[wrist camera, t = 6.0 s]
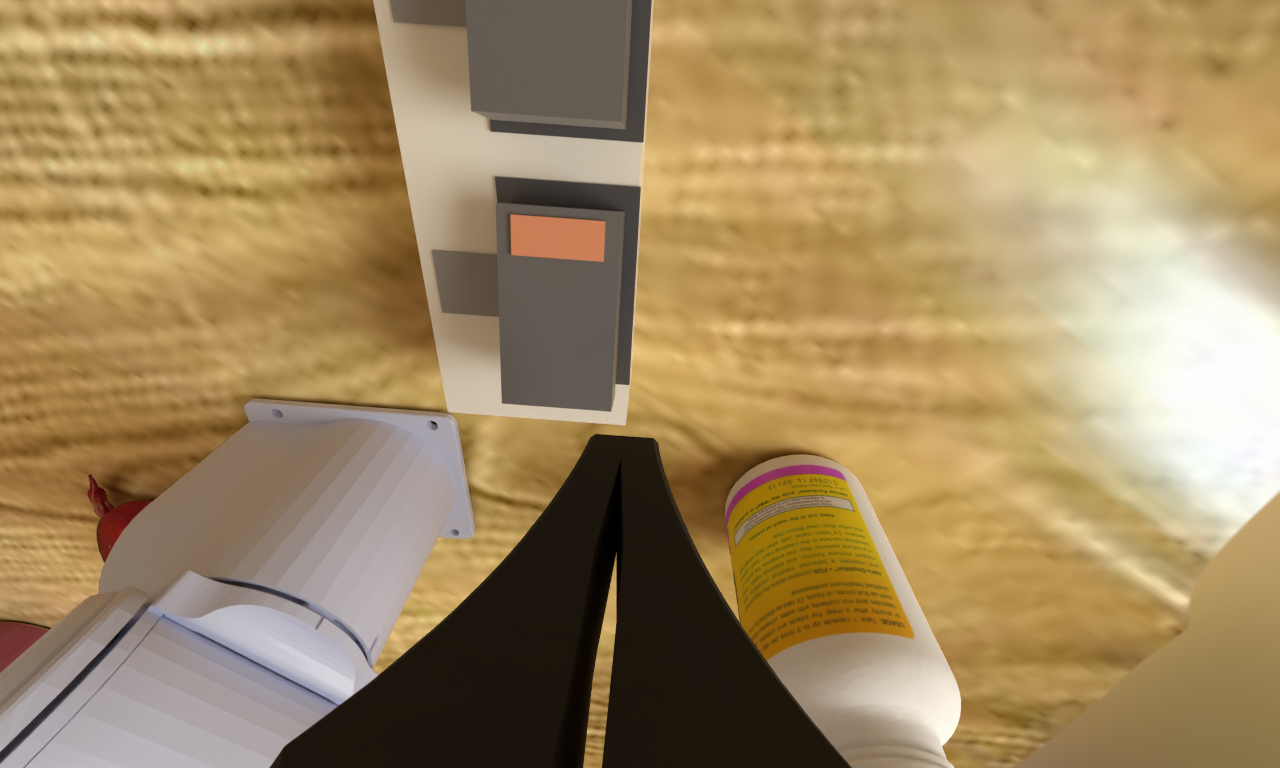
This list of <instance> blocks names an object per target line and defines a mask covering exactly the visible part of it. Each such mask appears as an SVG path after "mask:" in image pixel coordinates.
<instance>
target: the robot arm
mask: <svg viewBox="0 0 1280 768" xmlns="http://www.w3.org/2000/svg"><path fill="white" fill-rule="evenodd" d="M278 410H279V411H278ZM244 411H245V413H246V415H247V418H248V420H249V422H248V423H247V424H246V425H245V426H243V427H242V428H241V429H240V430H239V431H237V432H236V433H235V434H234V435H232V436H231V437H230V438H229V439H228V440H226V441H225V442H224V443H223V444H222V445H220V446H219V447H218V448H217V449H215V450H214V451H213V452H212V453H211V454H209V455H208V456H207V457H206V458H205V459H203V460H202V461H201V462H200V463H198V464H197V465H196V466H195V467H194V468H192V469H191V470H190V471H189V472H188V473H186V474H185V475H184V476H183V477H181V478H180V479H179V480H178V481H177V482H175V483H174V484H173V485H172V486H171V487H169V488H168V489H167V490H166V491H164V492H163V493H162V494H161V495H160V496H158V497H157V498H156V499H155V500H154V501H152V502H151V503H150V504H149V505H147V506H146V507H145V508H144V509H143V510H142V511H141V512H140V513H139V514H138V515H137V516H136V517H135V518H133V520H132V521H131V522H130V523H129V524H128V526H127V527H126V528H125V529H124V530H123V532H122V533H121V535H120V536H119V538H118V539H117V541H116V542H115V544H114V546H113V548H112V550H111V551H110V553H109V555H108V558H107V560H106V562H105V564H104V567H103V570H102V573H101V577H100V582H99V594H97V595H92V596H90V597H88V598H87V599H85V600H84V601H83V602H82V603H80V604H79V605H78V606H77V607H76V608H74V609H73V610H72V611H71V612H70V613H69V614H67V615H66V616H65V617H64V618H63V619H62V620H60V621H59V622H58V623H57V624H56V625H55V626H53V627H52V628H51V629H50V630H49V631H48V632H46V633H45V634H44V635H43V636H42V637H41V638H40V639H38V640H37V641H36V642H35V643H34V644H33V645H31V646H30V647H29V648H28V649H27V650H26V651H25V652H23V653H22V654H21V655H20V656H19V657H18V658H17V659H15V660H14V661H13V662H12V663H11V664H10V665H9V666H8V667H6V668H5V669H4V670H3V671H2V672H1V673H0V768H583V763H584V753H585V744H586V735H587V726H588V716H589V707H590V698H591V689H592V680H593V673H594V667H595V661H596V654H597V649H598V644H599V639H600V634H601V629H602V624H603V618H604V613H605V608H606V603H607V598H608V593H609V588H610V583H611V577H612V572H613V567H614V562H615V557H616V551H617V623H616V634H615V644H614V654H613V664H612V674H611V684H610V694H609V704H608V714H607V724H606V734H605V744H604V753H603V763H602V768H852V767H851V766H850V765H849V764H848V762H847V761H846V760H845V759H844V758H843V757H842V755H841V754H840V753H839V752H838V751H837V750H836V749H835V747H834V746H833V745H832V744H831V743H830V741H829V740H828V739H827V738H826V737H825V735H824V734H823V733H822V732H821V731H820V729H819V728H818V727H817V726H816V725H815V723H814V722H813V721H812V720H811V719H810V717H809V716H808V715H807V713H806V712H805V711H804V710H803V708H802V707H801V706H800V705H799V703H798V702H797V701H796V699H795V698H794V697H793V696H792V694H791V693H790V692H789V691H788V689H787V688H786V687H785V685H784V684H783V683H782V682H781V680H780V679H779V678H778V676H777V675H776V673H775V672H774V671H773V669H772V668H771V666H770V665H769V664H768V662H767V661H766V659H765V658H764V657H763V655H762V654H761V652H760V651H759V650H758V648H757V647H756V645H755V644H754V643H753V641H752V640H751V638H750V637H749V636H748V634H747V633H746V631H745V630H744V629H743V627H742V626H741V624H740V622H739V621H738V619H737V618H736V616H735V615H734V613H733V611H732V610H731V608H730V607H729V605H728V604H727V602H726V600H725V599H724V597H723V595H722V594H721V592H720V590H719V589H718V587H717V585H716V584H715V582H714V580H713V579H712V577H711V575H710V573H709V571H708V570H707V568H706V566H705V564H704V562H703V560H702V558H701V557H700V555H699V553H698V551H697V549H696V547H695V545H694V543H693V541H692V539H691V537H690V535H689V532H688V530H687V528H686V526H685V524H684V522H683V519H682V517H681V515H680V512H679V510H678V507H677V505H676V502H675V500H674V498H673V495H672V492H671V490H670V487H669V484H668V481H667V478H666V475H665V472H664V469H663V465H662V462H661V458H660V453H659V447H658V443H657V442H656V440H655V439H654V438H642V437H628V436H614V435H600V434H595V435H594V436H592V437H591V438H590V439H589V441H588V444H587V446H586V448H585V450H584V451H583V453H582V455H581V457H580V459H579V460H578V462H577V464H576V465H575V467H574V469H573V470H572V472H571V473H570V475H569V477H568V478H567V480H566V481H565V483H564V484H563V485H562V487H561V488H560V490H559V491H558V493H557V494H556V496H555V497H554V498H553V500H552V501H551V503H550V504H549V505H548V507H547V508H546V509H545V511H544V512H543V513H542V515H541V516H540V517H539V518H538V520H537V521H536V522H535V523H534V525H533V526H532V527H531V528H530V530H529V531H528V532H527V533H526V535H525V536H524V537H523V538H522V540H521V541H520V542H519V543H518V544H517V545H516V547H515V548H514V549H513V550H512V551H511V552H510V553H509V555H508V556H507V557H506V558H505V559H504V560H503V561H502V562H501V563H500V564H499V565H498V567H497V568H496V569H495V570H494V571H493V572H492V573H491V574H490V575H489V576H488V577H487V578H486V579H485V580H484V581H483V582H482V583H481V584H480V585H479V586H478V587H477V588H476V589H475V590H474V591H473V592H472V593H471V594H470V595H469V596H468V597H467V598H466V599H465V600H464V601H463V602H462V603H461V604H460V605H459V606H458V607H457V608H456V609H455V610H454V611H453V612H451V613H450V614H449V615H448V616H447V617H446V618H445V619H444V620H443V621H442V622H441V623H439V624H438V625H437V626H436V627H435V628H434V629H433V630H432V631H430V632H429V633H428V634H427V635H426V636H424V637H423V638H422V639H421V640H420V641H419V642H417V643H416V644H415V645H414V646H413V647H412V648H410V649H409V650H408V651H407V652H406V653H404V654H403V655H402V656H401V657H400V658H399V659H397V660H396V661H395V662H394V663H393V664H391V665H390V666H389V667H388V668H387V669H386V670H384V671H383V672H382V673H381V674H379V675H378V674H377V673H376V672H375V671H374V670H373V668H374V666H375V664H376V662H377V660H378V658H379V656H380V654H381V652H382V650H383V648H384V646H385V644H386V642H387V640H388V638H389V636H390V634H391V631H392V629H393V627H394V625H395V623H396V621H397V619H398V617H399V615H400V613H401V611H402V609H403V607H404V605H405V603H406V601H407V599H408V597H409V595H410V593H411V591H412V589H413V587H414V585H415V583H416V581H417V579H418V577H419V575H420V573H421V571H422V569H423V567H424V565H425V563H426V561H427V559H428V557H429V555H430V553H431V551H432V549H433V547H434V545H435V543H436V541H437V539H438V537H444V538H457V539H469V538H472V537H473V535H474V533H475V523H474V517H473V512H472V506H471V500H470V494H469V488H468V482H467V477H466V471H465V465H464V459H463V453H462V447H461V442H460V436H459V430H458V424H457V421H456V419H455V418H454V417H453V416H452V415H450V414H448V413H442V412H429V411H416V410H403V409H389V408H376V407H363V406H349V405H336V404H323V403H310V402H296V401H283V400H270V399H257V398H256V399H251V400H250V401H248V402H247V403H246V404H245V405H244ZM280 411H281V412H282V413H281V412H280ZM431 421H434V422H436V423H437V425H435V424H433V423H432V422H431ZM455 529H456V530H455Z"/></svg>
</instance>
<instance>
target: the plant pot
mask: <svg viewBox="0 0 1280 768" xmlns="http://www.w3.org/2000/svg"><path fill="white" fill-rule="evenodd" d="M49 630H50V629H47V628H43V627H39V626H35V625H30V624H25V623H17V622H0V673H1V672H2V671H3V670H4V669H5V668H6V667H8V666H9V665H10V664H11V663H12V662H13V661H14V660H15V659H17V658H18V657H19V656H20V655H21V654H22V653H23V652H25V651H26V650H27V649H28V648H29V647H30V646H31V645H33V644H34V643H35V642H36V641H37V640H38V639H40V638H41V637H42V636H43V635H44V634H45V633H46V632H48V631H49Z"/></svg>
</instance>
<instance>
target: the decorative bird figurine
mask: <svg viewBox="0 0 1280 768" xmlns="http://www.w3.org/2000/svg"><path fill="white" fill-rule="evenodd" d="M88 477H89V481H90V489H89V491H88V497H89V499H90V502H91V503H92V505H93V507H94V511H95V513H96V514H97V515H98V516H99V517H101V520H100V521H99V524H98V526H97V543H98V547H99V551H100V554H101V556H102V558H103V561H104V562H106V560H107V558H108V555H109V553H110V551H111V550H112V548H113V546H114V544H115V542H116V541H117V539H118V538H119V536H120V535H121V533H122V532H123V530H124V529H125V528H126V527H127V526H128V524H129V523H130V522H131V521H132V520H133V518H135V517H136V516H137V515H138V514H139V513H140V512H141V511H142V510H143V509H144V508H145V507H146V506H147V505H149V504H150V503H151V502H149V501H141V500H138V501H132V502H128V503H125V504H122V505H120V506H118V507H116V508H114V507H113V506H112V504H111V503H110V502H109V501H108V499H107V495H106V492H105V491H104V489H102V488H101V487H98V485H97V483H96V481H95V479H94V478H93V477H92V475H90V474H89V476H88Z"/></svg>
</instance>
